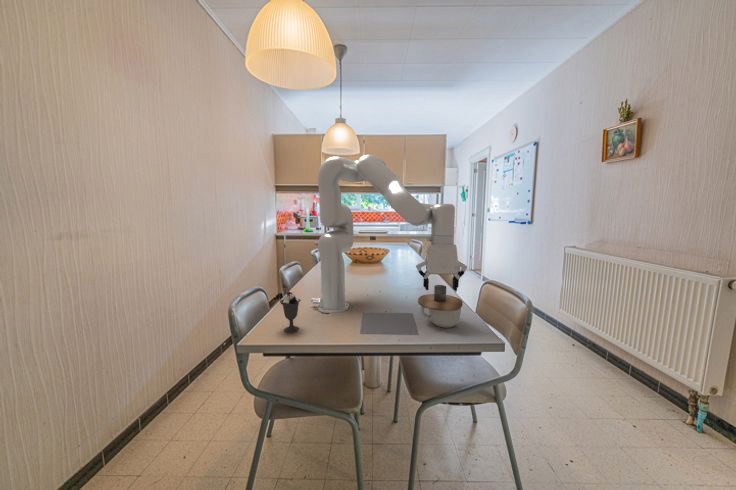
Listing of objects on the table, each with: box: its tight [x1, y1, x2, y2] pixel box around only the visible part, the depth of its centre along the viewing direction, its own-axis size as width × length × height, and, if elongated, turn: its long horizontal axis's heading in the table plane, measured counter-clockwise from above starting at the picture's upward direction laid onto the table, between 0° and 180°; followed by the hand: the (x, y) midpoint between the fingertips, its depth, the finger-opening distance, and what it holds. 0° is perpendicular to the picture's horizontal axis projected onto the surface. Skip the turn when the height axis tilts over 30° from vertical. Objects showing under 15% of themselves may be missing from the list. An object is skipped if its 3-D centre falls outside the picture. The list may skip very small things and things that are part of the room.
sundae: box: [279, 285, 302, 334], centre depth 96 cm, size 7×7×15 cm
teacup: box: [420, 306, 462, 329], centre depth 101 cm, size 14×11×8 cm
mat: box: [359, 311, 420, 336], centre depth 102 cm, size 19×19×1 cm
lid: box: [417, 284, 463, 311], centre depth 100 cm, size 15×15×6 cm
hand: (440, 289), depth 100 cm, fingers open, 9 cm apart
